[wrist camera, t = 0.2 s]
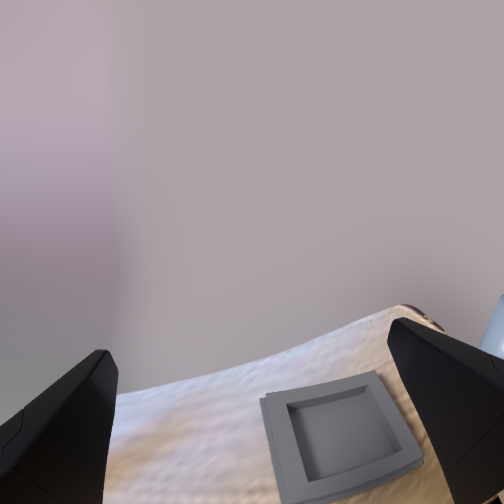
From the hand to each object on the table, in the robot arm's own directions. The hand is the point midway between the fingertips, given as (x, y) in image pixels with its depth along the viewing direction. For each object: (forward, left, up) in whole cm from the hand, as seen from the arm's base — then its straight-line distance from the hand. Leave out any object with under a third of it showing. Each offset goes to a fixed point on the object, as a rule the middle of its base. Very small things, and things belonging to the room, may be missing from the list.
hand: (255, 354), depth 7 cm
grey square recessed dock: (+4, -7, -17) cm, 19 cm away
